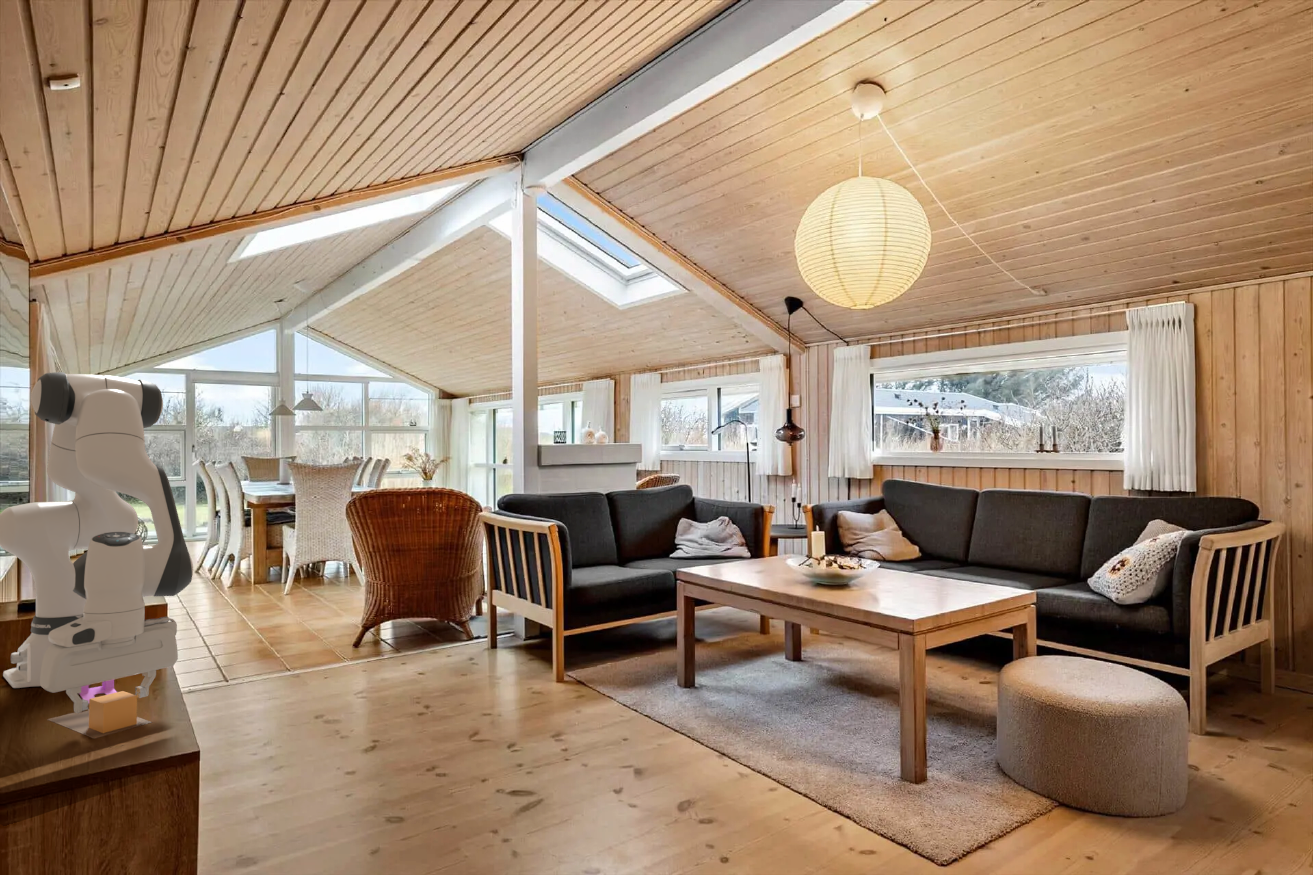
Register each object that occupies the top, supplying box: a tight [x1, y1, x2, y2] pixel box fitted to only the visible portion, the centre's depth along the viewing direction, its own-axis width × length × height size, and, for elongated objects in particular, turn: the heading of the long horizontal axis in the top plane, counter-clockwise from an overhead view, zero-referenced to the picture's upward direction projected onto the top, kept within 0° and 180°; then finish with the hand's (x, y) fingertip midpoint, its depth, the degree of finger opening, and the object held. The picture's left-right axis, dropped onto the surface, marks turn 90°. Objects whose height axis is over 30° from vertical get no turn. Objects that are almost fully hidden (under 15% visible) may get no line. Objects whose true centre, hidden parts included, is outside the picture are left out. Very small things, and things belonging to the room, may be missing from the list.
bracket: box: [78, 679, 118, 704], centre depth 149 cm, size 13×6×7 cm, turn 45°
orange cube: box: [88, 690, 138, 733], centre depth 132 cm, size 5×5×5 cm
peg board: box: [46, 708, 153, 739], centre depth 134 cm, size 18×9×5 cm, turn 59°
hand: (112, 704), depth 132 cm, fingers open, 8 cm apart
